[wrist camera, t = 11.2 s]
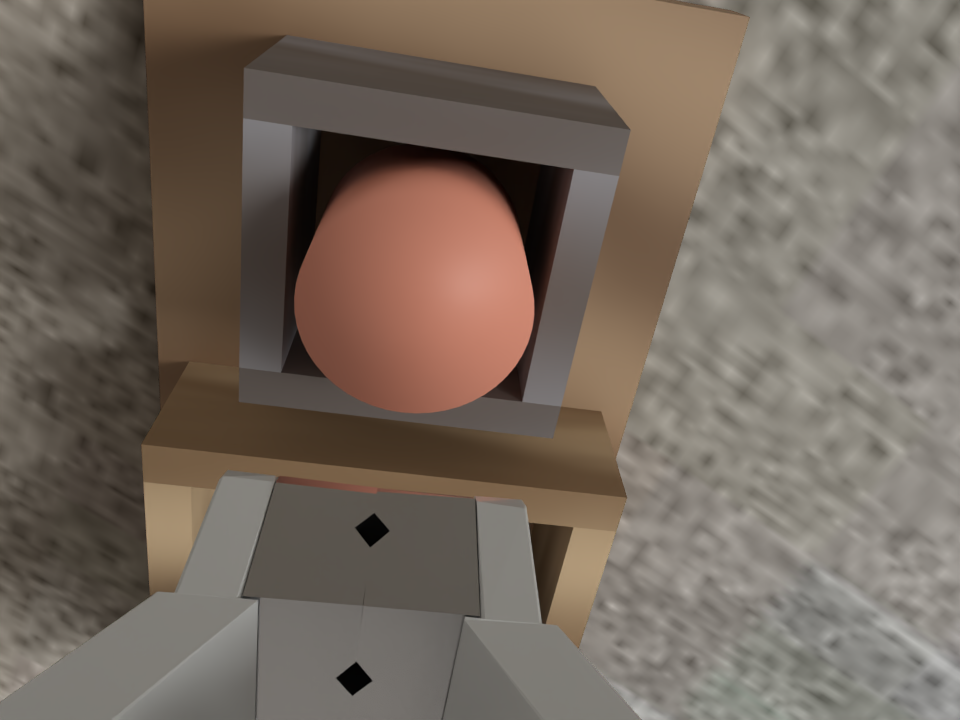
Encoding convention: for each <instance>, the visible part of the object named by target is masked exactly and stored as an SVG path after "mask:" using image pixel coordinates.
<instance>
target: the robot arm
mask: <svg viewBox="0 0 960 720" xmlns="http://www.w3.org/2000/svg"><path fill="white" fill-rule="evenodd" d="M0 720H641V718H640V717H639V716H638V715H637V714H636V713H635V712H634V711H633V709H632V708H631V707H630V706H629V705H628V704H627V703H626V702H625V701H624V699H623V698H622V697H621V696H620V695H619V694H618V693H617V692H616V690H615V689H614V688H613V687H612V686H611V685H610V684H609V683H608V681H607V680H606V679H605V678H604V677H603V676H602V675H601V674H600V673H599V671H598V670H597V669H596V668H595V667H594V666H593V665H592V664H591V662H590V661H589V660H588V659H587V658H586V657H585V656H584V655H583V653H582V652H581V651H580V650H579V649H578V648H577V647H576V646H575V645H574V643H573V642H572V641H571V640H570V639H569V638H568V637H567V636H566V634H565V633H564V632H563V631H562V630H561V629H560V628H559V627H558V626H557V625H549V624H542V620H541V612H540V605H539V597H538V590H537V582H536V575H535V567H534V560H533V552H532V545H531V537H530V530H529V522H528V515H527V507H526V505H525V504H524V502H523V501H522V500H520V499H507V498H494V497H481V496H474V498H472V497H467V496H457V495H446V494H436V493H425V492H415V491H404V490H394V489H383V488H376V487H368V486H360V485H352V484H344V483H336V482H328V481H320V480H312V479H304V478H295V477H287V476H279V477H277V476H274V475H265V474H257V473H248V472H240V471H231V470H227V471H226V472H225V474H224V475H223V476H222V477H221V478H220V479H219V481H218V484H217V486H216V489H215V491H214V494H213V496H212V499H211V501H210V504H209V507H208V509H207V512H206V514H205V517H204V519H203V522H202V524H201V527H200V529H199V532H198V534H197V537H196V539H195V542H194V544H193V547H192V549H191V552H190V554H189V557H188V559H187V562H186V564H185V567H184V570H183V572H182V575H181V577H180V580H179V582H178V585H177V587H176V590H175V592H174V593H171V592H156V593H155V594H153V595H152V596H150V597H149V598H147V599H146V600H145V601H143V602H142V603H140V604H139V605H137V606H136V607H135V608H133V609H132V610H130V611H129V612H128V613H126V614H125V615H123V616H122V617H120V618H119V619H118V620H116V621H115V622H113V623H112V624H110V625H109V626H108V627H106V628H105V629H103V630H102V631H100V632H99V633H98V634H96V635H95V636H93V637H92V638H90V639H89V640H88V641H86V642H85V643H83V644H82V645H81V646H79V647H78V648H76V649H75V650H73V651H72V652H71V653H69V654H68V655H66V656H65V657H63V658H62V659H61V660H59V661H58V662H56V663H55V664H53V665H52V666H51V667H49V668H48V669H46V670H45V671H43V672H42V673H41V674H39V675H38V676H36V677H35V678H34V679H32V680H31V681H29V682H28V683H26V684H25V685H24V686H22V687H21V688H19V689H18V690H16V691H15V692H14V693H12V694H11V695H9V696H8V697H6V698H5V699H4V700H2V701H1V702H0Z"/></svg>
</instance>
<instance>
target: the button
mask: <svg viewBox="0 0 960 720" xmlns="http://www.w3.org/2000/svg"><path fill="white" fill-rule="evenodd" d="M294 312H295V318H296V324H297V328H298V331H299V334H300V337H301V340H302V342H303V344H304V346H305V348H306V351H307V353H308V354H309V356H310V357H311V359H312V360H313V362H314V363H315V365H316V366H317V367H318V368H319V369H320V370H321V372H322V373H323V374H324V375H325V376H326V377H327V378H328V379H329V380H330V381H331V382H333V383H334V384H335V385H336V386H337V387H339V388H340V389H342V390H343V391H344V392H346V393H347V394H349V395H351V396H353V397H354V398H356V399H358V400H360V401H362V402H365V403H367V404H370V405H372V406H375V407H379V408H382V409H385V410H390V411H396V412H402V413H433V412H439V411H445V410H449V409H452V408H456V407H460V406H462V405H464V404H467V403H469V402H472V401H474V400H476V399H478V398H479V397H481V396H483V395H485V394H486V393H488V392H489V391H490V390H492V389H493V388H495V387H496V386H497V385H498V384H499V383H500V382H501V381H503V380H504V379H505V378H506V377H507V376H508V374H509V373H510V372H511V371H512V370H513V368H514V367H515V366H516V364H517V363H518V361H519V360H520V358H521V357H522V355H523V353H524V351H525V348H526V346H527V344H528V342H529V338H530V335H531V332H532V327H533V320H534V296H533V289H532V284H531V279H530V274H529V270H528V265H527V260H526V255H525V251H524V246H523V241H522V237H521V232H520V227H519V222H518V218H517V215H516V211H515V208H514V205H513V203H512V201H511V199H510V197H509V195H508V193H507V191H506V190H505V188H504V187H503V185H502V184H501V183H500V181H499V180H498V179H497V178H496V177H495V175H494V174H493V173H492V172H490V171H489V170H488V169H487V168H486V167H485V166H484V165H482V164H481V163H480V162H478V161H477V160H475V159H474V158H472V157H470V156H468V155H466V154H465V153H463V152H459V151H452V150H446V149H439V148H433V147H426V146H420V145H413V144H401V145H396V146H392V147H389V148H385V149H382V150H380V151H378V152H376V153H374V154H371V155H369V156H368V157H366V158H365V159H363V160H362V161H360V162H359V163H357V164H356V165H355V166H354V167H353V168H352V169H350V170H349V171H348V172H347V174H346V175H345V176H344V177H343V178H342V179H341V180H340V182H339V183H338V185H337V187H336V188H335V190H334V191H333V193H332V195H331V198H330V200H329V202H328V204H327V207H326V209H325V211H324V214H323V216H322V218H321V221H320V223H319V226H318V228H317V230H316V233H315V235H314V237H313V240H312V242H311V244H310V247H309V249H308V252H307V254H306V256H305V259H304V261H303V263H302V266H301V268H300V271H299V274H298V278H297V282H296V287H295V295H294Z"/></svg>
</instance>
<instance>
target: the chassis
mask: <svg viewBox="0 0 960 720" xmlns="http://www.w3.org/2000/svg"><path fill="white" fill-rule="evenodd" d="M143 6H144V29H145V53H146V77H147V101H148V125H149V149H150V172H151V196H152V220H153V244H154V268H155V292H156V315H157V339H158V363H159V387H160V413H159V415H158V416H157V418H156V420H155V422H154V423H153V425H152V427H151V428H150V430H149V432H148V434H147V435H146V437H145V439H144V440H143V442H142V444H141V449H142V467H143V484H144V502H145V519H146V536H147V554H148V571H149V588H150V596H152V595H153V594H155V593H156V592H171V593H174V592H175V590H176V587H177V585H178V582H179V580H180V577H181V575H182V572H183V570H184V567H185V564H186V562H187V559H188V557H189V554H190V552H191V549H192V547H193V544H194V542H195V539H196V537H197V534H198V532H199V529H200V527H201V524H202V522H203V519H204V517H205V514H206V512H207V509H208V507H209V504H210V501H211V499H212V496H213V494H214V491H215V489H216V486H217V484H218V481H219V479H220V478H221V477H222V476H223V475H224V474H225V472H226V471H227V470H231V471H240V472H248V473H257V474H265V475H274V476H277V477H279V476H287V477H295V478H304V479H312V480H320V481H328V482H336V483H344V484H352V485H360V486H368V487H376V488H383V489H394V490H404V491H415V492H425V493H436V494H446V495H457V496H467V497H472V498H474V496H481V497H494V498H507V499H520V500H522V501H523V502H524V504H525V505H526V507H527V515H528V522H529V530H530V537H531V545H532V552H533V560H534V567H535V575H536V582H537V590H538V597H539V605H540V612H541V620H542V624H549V625H557V626H558V627H559V628H560V629H561V630H562V631H563V632H564V633H565V634H566V636H567V637H568V638H569V639H570V640H571V641H572V642H573V643H574V645H575V646H576V647H577V648H579V645H580V642H581V639H582V636H583V633H584V630H585V627H586V624H587V620H588V617H589V614H590V611H591V608H592V605H593V602H594V599H595V596H596V592H597V589H598V586H599V583H600V580H601V577H602V574H603V571H604V568H605V565H606V561H607V558H608V555H609V552H610V549H611V546H612V543H613V540H614V537H615V534H616V530H617V527H618V524H619V521H620V518H621V515H622V512H623V509H624V506H625V503H626V499H627V496H626V493H625V489H624V486H623V483H622V479H621V476H620V473H619V469H618V466H617V462H616V456H617V453H618V450H619V446H620V443H621V440H622V436H623V433H624V430H625V427H626V423H627V420H628V417H629V413H630V410H631V407H632V404H633V400H634V397H635V394H636V390H637V387H638V384H639V381H640V377H641V374H642V371H643V367H644V364H645V361H646V358H647V354H648V351H649V348H650V344H651V341H652V338H653V334H654V331H655V328H656V325H657V321H658V318H659V315H660V311H661V308H662V305H663V302H664V298H665V295H666V292H667V288H668V285H669V282H670V279H671V275H672V272H673V269H674V265H675V262H676V259H677V256H678V252H679V249H680V246H681V242H682V239H683V236H684V233H685V229H686V226H687V223H688V219H689V216H690V213H691V210H692V206H693V203H694V200H695V196H696V193H697V190H698V187H699V183H700V180H701V177H702V173H703V170H704V167H705V163H706V160H707V157H708V154H709V150H710V147H711V144H712V140H713V137H714V134H715V131H716V127H717V124H718V121H719V117H720V114H721V111H722V108H723V104H724V101H725V98H726V94H727V91H728V88H729V85H730V81H731V78H732V75H733V71H734V68H735V65H736V62H737V58H738V55H739V52H740V48H741V45H742V42H743V39H744V35H745V32H746V29H747V25H748V22H749V19H750V17H748V16H745V15H742V14H740V13H737V12H734V11H731V10H725V9H720V8H714V7H709V6H703V5H697V4H692V3H686V2H681V1H675V0H143ZM401 144H413V145H420V146H426V147H433V148H439V149H446V150H452V151H459V152H463V153H465V154H466V155H468V156H470V157H472V158H474V159H475V160H477V161H478V162H480V163H481V164H482V165H484V166H485V167H486V168H487V169H488V170H489V171H490V172H492V173H493V174H494V175H495V177H496V178H497V179H498V180H499V181H500V183H501V184H502V185H503V187H504V188H505V190H506V191H507V193H508V195H509V197H510V199H511V201H512V203H513V205H514V208H515V211H516V215H517V218H518V222H519V227H520V232H521V237H522V241H523V246H524V251H525V255H526V260H527V265H528V270H529V274H530V279H531V284H532V289H533V296H534V320H533V327H532V332H531V335H530V338H529V342H528V344H527V346H526V348H525V351H524V353H523V355H522V357H521V358H520V360H519V361H518V363H517V364H516V366H515V367H514V368H513V370H512V371H511V372H510V373H509V374H508V376H507V377H506V378H505V379H504V380H503V381H501V382H500V383H499V384H498V385H497V386H496V387H495V388H493V389H492V390H490V391H489V392H488V393H486V394H485V395H483V396H481V397H479V398H478V399H476V400H474V401H472V402H469V403H467V404H464V405H462V406H460V407H456V408H452V409H449V410H445V411H439V412H433V413H402V412H396V411H390V410H385V409H382V408H379V407H375V406H372V405H370V404H367V403H365V402H362V401H360V400H358V399H356V398H354V397H353V396H351V395H349V394H347V393H346V392H344V391H343V390H342V389H340V388H339V387H337V386H336V385H335V384H334V383H333V382H331V381H330V380H329V379H328V378H327V377H326V376H325V375H324V374H323V373H322V372H321V370H320V369H319V368H318V367H317V366H316V365H315V363H314V362H313V360H312V359H311V357H310V356H309V354H308V353H307V351H306V348H305V346H304V344H303V342H302V340H301V337H300V334H299V331H298V328H297V324H296V318H295V312H294V295H295V287H296V282H297V278H298V274H299V271H300V268H301V266H302V263H303V261H304V259H305V256H306V254H307V252H308V249H309V247H310V244H311V242H312V240H313V237H314V235H315V233H316V230H317V228H318V226H319V223H320V221H321V218H322V216H323V214H324V211H325V209H326V207H327V204H328V202H329V200H330V198H331V195H332V193H333V191H334V190H335V188H336V187H337V185H338V183H339V182H340V180H341V179H342V178H343V177H344V176H345V175H346V174H347V172H348V171H349V170H350V169H352V168H353V167H354V166H355V165H356V164H357V163H359V162H360V161H362V160H363V159H365V158H366V157H368V156H369V155H371V154H374V153H376V152H378V151H380V150H382V149H385V148H389V147H392V146H396V145H401Z"/></svg>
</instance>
